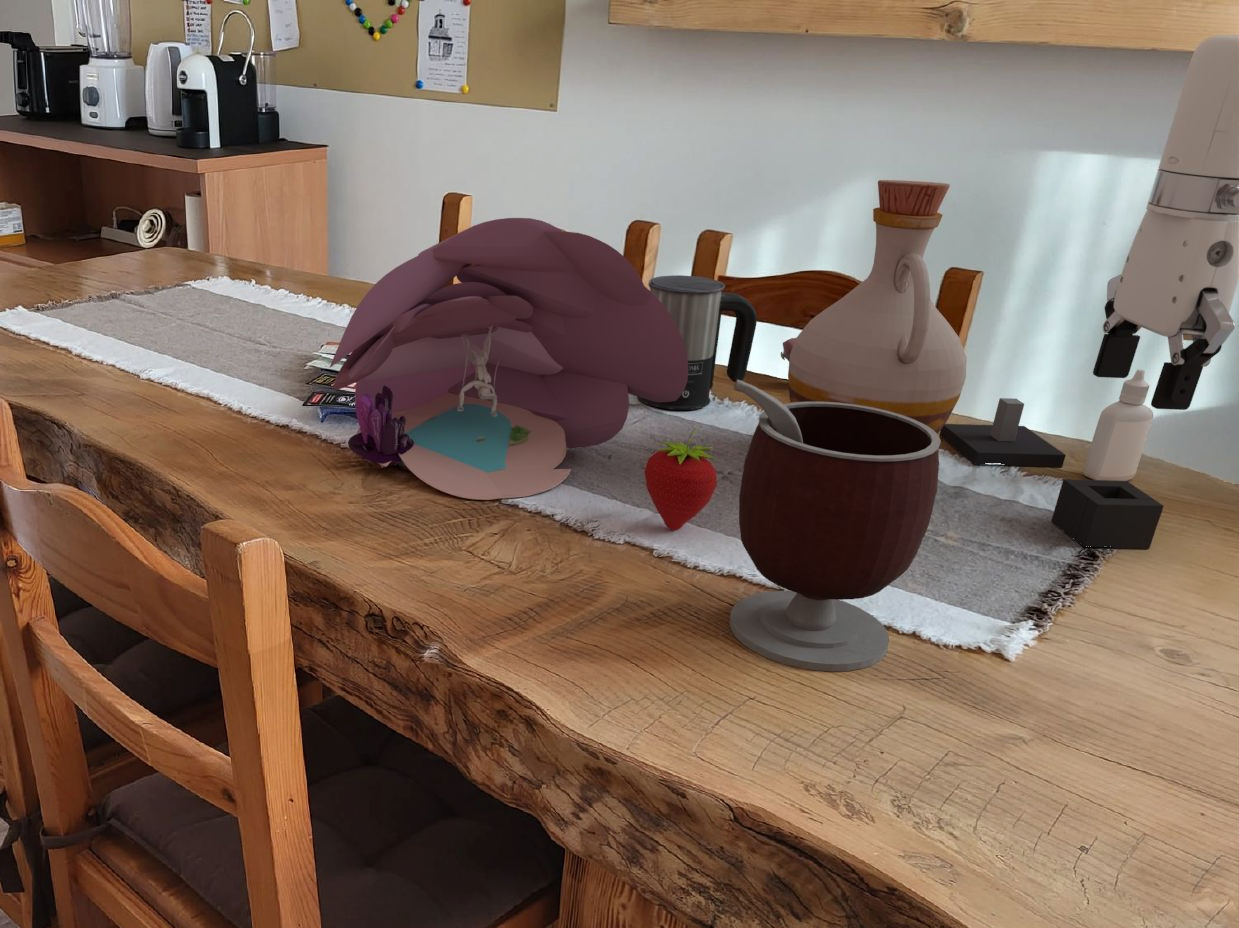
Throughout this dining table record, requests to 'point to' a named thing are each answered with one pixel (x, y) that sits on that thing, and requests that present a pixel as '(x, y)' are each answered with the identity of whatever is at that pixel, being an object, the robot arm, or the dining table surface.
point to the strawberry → (680, 482)
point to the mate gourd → (829, 525)
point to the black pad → (1107, 513)
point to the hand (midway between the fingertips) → (1138, 391)
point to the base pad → (1003, 440)
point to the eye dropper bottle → (1121, 434)
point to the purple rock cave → (504, 357)
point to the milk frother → (704, 332)
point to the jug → (887, 324)
